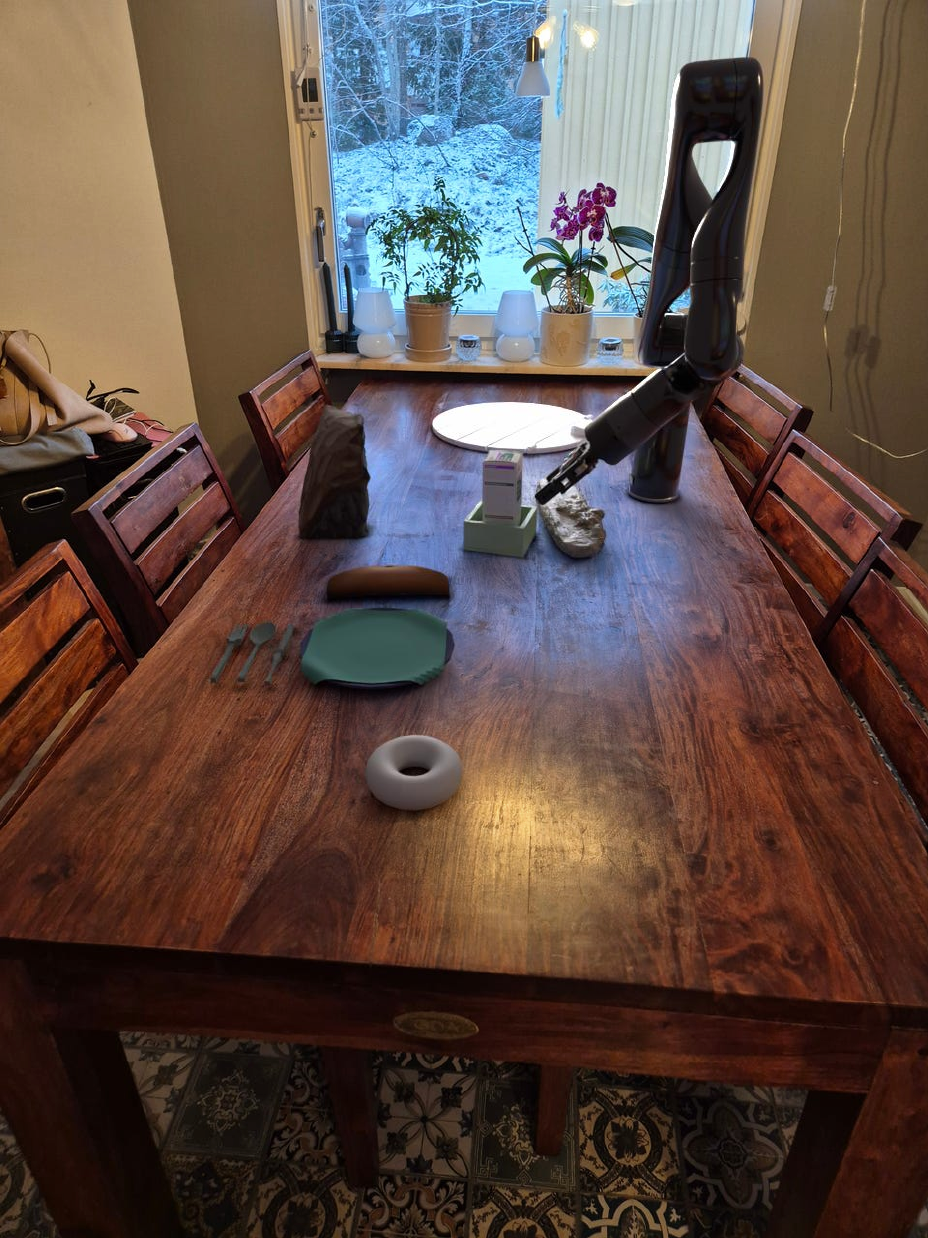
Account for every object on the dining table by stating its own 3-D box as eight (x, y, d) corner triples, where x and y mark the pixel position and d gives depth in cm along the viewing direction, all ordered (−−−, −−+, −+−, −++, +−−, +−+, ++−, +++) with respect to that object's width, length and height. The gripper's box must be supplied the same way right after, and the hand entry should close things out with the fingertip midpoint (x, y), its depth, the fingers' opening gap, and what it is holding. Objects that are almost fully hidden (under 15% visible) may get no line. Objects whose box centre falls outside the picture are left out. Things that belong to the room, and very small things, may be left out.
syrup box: (515, 547, 135) (519, 462, 128) (480, 543, 136) (482, 459, 129) (520, 533, 140) (524, 451, 132) (486, 530, 141) (488, 448, 134)
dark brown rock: (323, 510, 149) (315, 401, 140) (389, 517, 147) (385, 406, 137) (295, 537, 139) (283, 421, 129) (365, 545, 136) (358, 427, 126)
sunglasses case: (447, 572, 126) (448, 547, 121) (449, 611, 123) (450, 588, 117) (330, 575, 125) (326, 550, 119) (329, 614, 122) (324, 591, 116)
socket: (479, 527, 144) (480, 499, 141) (536, 534, 141) (537, 506, 138) (463, 549, 135) (463, 521, 133) (522, 557, 133) (523, 528, 130)
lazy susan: (624, 422, 201) (626, 409, 200) (552, 465, 173) (553, 450, 171) (486, 399, 220) (486, 386, 218) (400, 434, 191) (399, 419, 189)
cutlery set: (452, 702, 97) (452, 685, 96) (201, 697, 97) (198, 681, 96) (456, 619, 114) (456, 605, 113) (243, 616, 115) (241, 602, 114)
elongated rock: (577, 493, 162) (527, 496, 162) (577, 467, 160) (527, 470, 159) (617, 559, 131) (555, 563, 130) (618, 528, 128) (555, 532, 128)
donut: (458, 752, 89) (366, 755, 88) (459, 727, 87) (365, 729, 87) (466, 816, 80) (364, 820, 80) (467, 789, 79) (363, 793, 78)
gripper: (613, 397, 128) (538, 460, 137) (599, 421, 116) (518, 488, 125) (643, 433, 130) (567, 493, 138) (632, 460, 118) (550, 524, 126)
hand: (544, 491), depth 131 cm, fingers open, 8 cm apart
